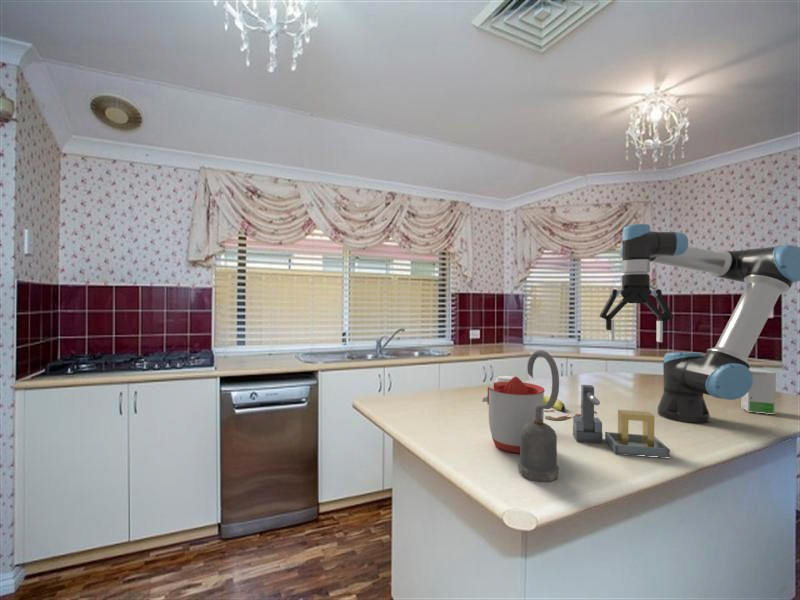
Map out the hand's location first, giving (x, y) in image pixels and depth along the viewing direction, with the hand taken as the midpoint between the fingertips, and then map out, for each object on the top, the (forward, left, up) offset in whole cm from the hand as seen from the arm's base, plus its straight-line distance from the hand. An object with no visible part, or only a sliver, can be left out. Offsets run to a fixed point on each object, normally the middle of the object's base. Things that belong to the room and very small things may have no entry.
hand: (635, 341), depth 127 cm
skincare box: (-52, -36, -29) cm, 70 cm away
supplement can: (+39, -2, -29) cm, 49 cm away
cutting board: (+24, -25, -29) cm, 46 cm away
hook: (+32, +40, -29) cm, 59 cm away
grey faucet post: (+16, +15, -29) cm, 36 cm away
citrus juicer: (+38, +22, -29) cm, 53 cm away
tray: (+4, +16, -29) cm, 33 cm away
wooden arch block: (+4, +16, -28) cm, 33 cm away
